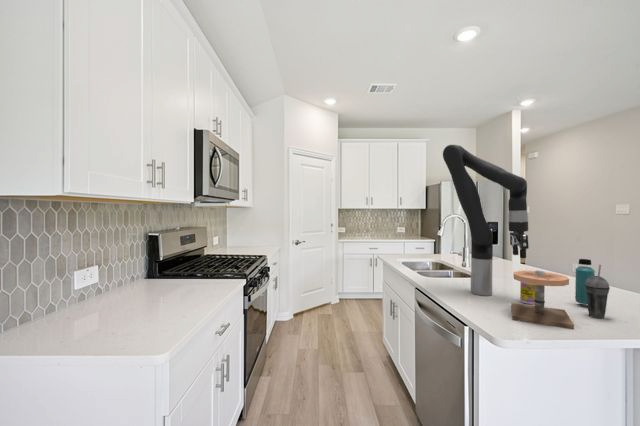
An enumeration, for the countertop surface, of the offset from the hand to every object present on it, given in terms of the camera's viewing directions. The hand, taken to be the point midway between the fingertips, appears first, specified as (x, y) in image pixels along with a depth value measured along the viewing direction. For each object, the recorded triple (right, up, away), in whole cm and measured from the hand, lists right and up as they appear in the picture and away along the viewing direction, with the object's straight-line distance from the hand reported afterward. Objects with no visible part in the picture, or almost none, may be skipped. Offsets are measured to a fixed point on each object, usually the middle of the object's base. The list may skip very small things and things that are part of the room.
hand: (519, 256), depth 140 cm
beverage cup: (+17, -20, -21) cm, 33 cm away
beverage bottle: (+23, -20, -8) cm, 31 cm away
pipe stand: (-5, -20, -20) cm, 29 cm away
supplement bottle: (+2, -20, -3) cm, 21 cm away
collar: (-5, -6, -21) cm, 22 cm away
